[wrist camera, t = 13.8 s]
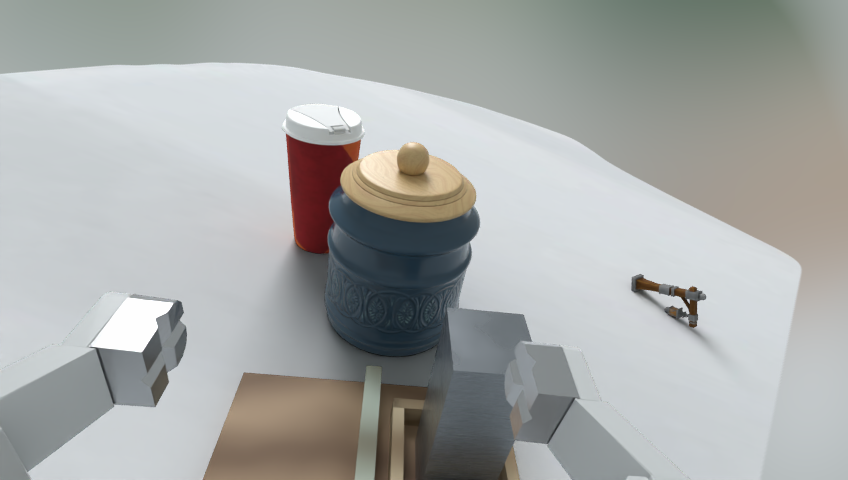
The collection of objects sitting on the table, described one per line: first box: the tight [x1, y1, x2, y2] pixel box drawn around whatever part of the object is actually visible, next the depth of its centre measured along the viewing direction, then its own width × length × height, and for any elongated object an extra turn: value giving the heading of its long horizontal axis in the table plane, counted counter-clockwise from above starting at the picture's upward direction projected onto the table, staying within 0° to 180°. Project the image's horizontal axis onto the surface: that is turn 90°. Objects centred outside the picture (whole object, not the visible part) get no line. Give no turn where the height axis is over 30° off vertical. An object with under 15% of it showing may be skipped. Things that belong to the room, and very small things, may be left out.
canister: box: [325, 142, 480, 356], centre depth 41 cm, size 13×13×18 cm
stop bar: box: [415, 307, 532, 480], centre depth 28 cm, size 4×4×13 cm
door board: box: [203, 366, 520, 480], centre depth 30 cm, size 14×20×3 cm
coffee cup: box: [282, 104, 365, 254], centre depth 50 cm, size 8×8×15 cm
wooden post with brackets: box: [631, 274, 706, 328], centre depth 52 cm, size 2×8×4 cm, turn 32°
